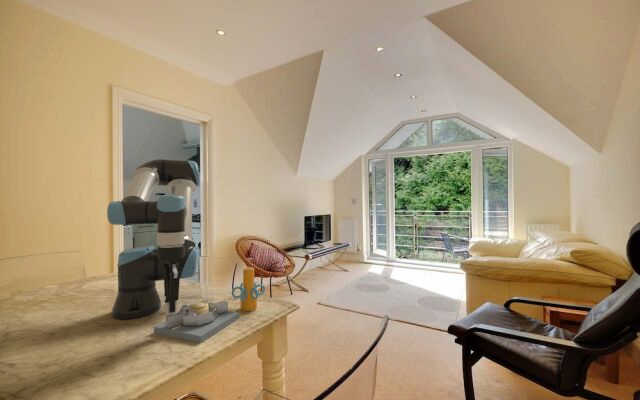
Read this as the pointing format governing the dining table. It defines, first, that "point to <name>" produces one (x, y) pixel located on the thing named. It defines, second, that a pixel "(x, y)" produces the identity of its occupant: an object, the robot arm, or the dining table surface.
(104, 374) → the dining table surface
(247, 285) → the orange post with rings
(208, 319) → the grey curved saddle piece
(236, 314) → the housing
